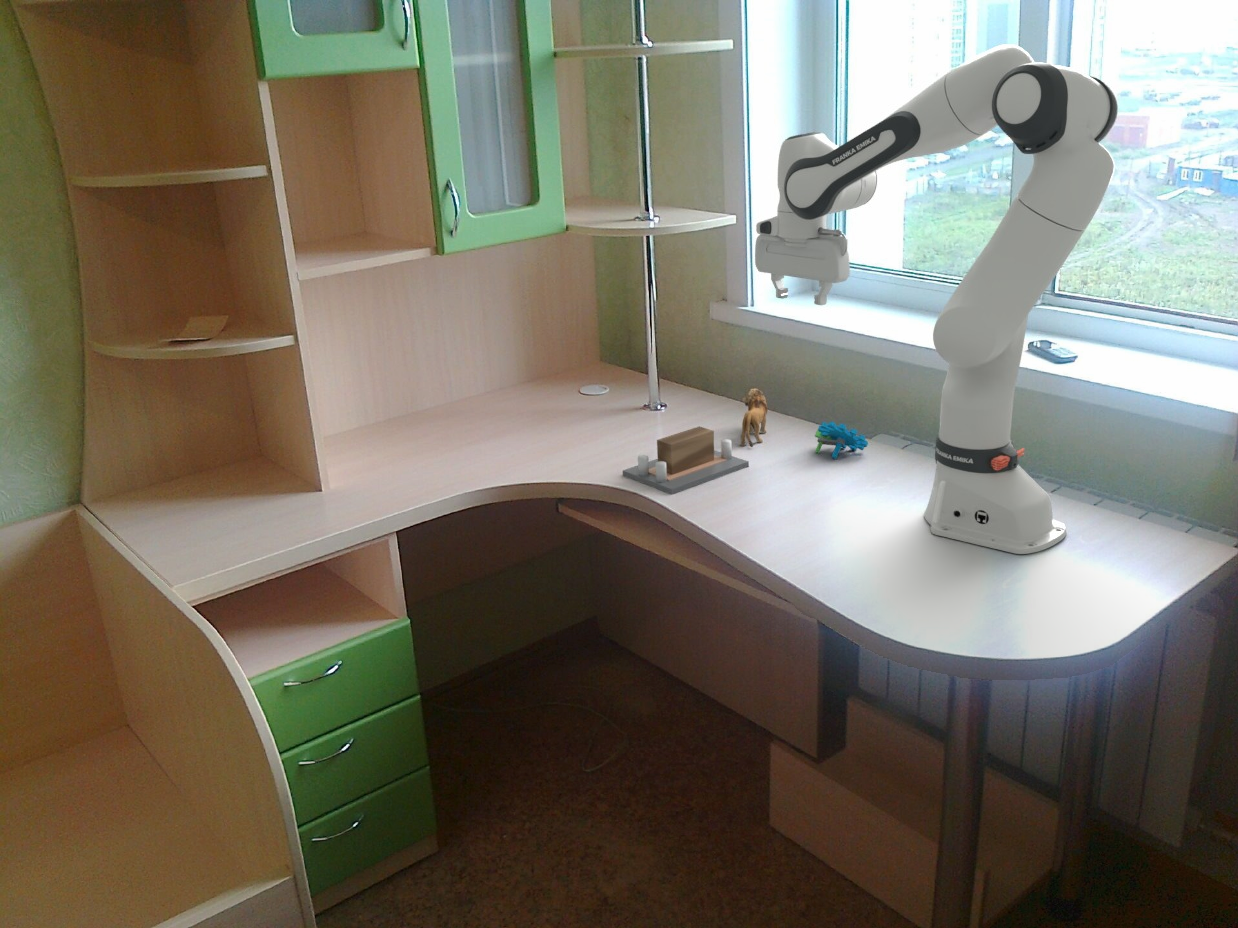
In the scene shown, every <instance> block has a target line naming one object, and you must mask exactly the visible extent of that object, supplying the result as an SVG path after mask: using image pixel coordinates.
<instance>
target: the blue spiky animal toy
mask: <svg viewBox="0 0 1238 928" xmlns="http://www.w3.org/2000/svg"><path fill="white" fill-rule="evenodd" d="M858 431H859V430H857V429H854V428H851V429H850V431H849V430H848V428H847V425H846V424H843V423H839V425H837V424H836V423H835V422H834V421H829V422H828V423H827V422H825V421H822V423H821V425H819V426H818V428H817V430H816V432H815V434H814V436H815V438H817V443H818V444H817V446H816V449H815V450H814V452H815V454H819V453H820V451H821V448H822V446H823V445H826V446H827V445H828V446H834V450H833V452H832V454H831V457H830V458H832V460H833V459H834V460H837V458H838V456H839V453H840V451H841V448H842V449H846V448H847V447H848V448H849V449H850V450H851V451H857V449H859V450H860V451H864V449H865V448H867V447H868V445H869V442H868V440H866V439H867V437H866V436H865V435H864V434H859V435H857V434H858Z"/></svg>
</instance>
